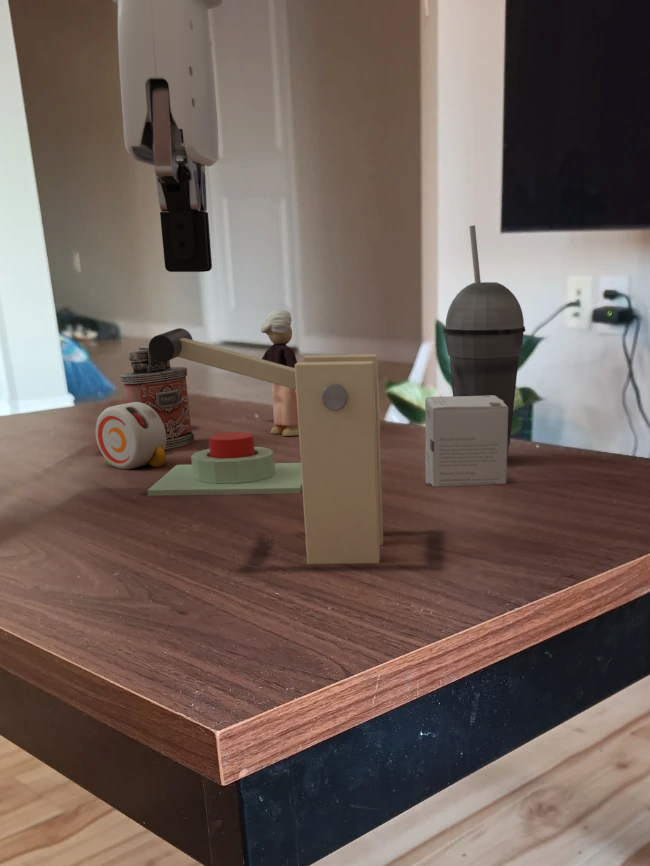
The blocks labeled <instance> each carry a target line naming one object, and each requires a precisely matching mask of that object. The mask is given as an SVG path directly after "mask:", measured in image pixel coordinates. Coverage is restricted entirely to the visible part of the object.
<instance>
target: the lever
mask: <svg viewBox="0 0 650 866" xmlns="http://www.w3.org/2000/svg"><path fill="white" fill-rule="evenodd" d="M148 345H149V353H150V355H151V356H152V358H153V359H155V360H156V361H158V362H167V361H171V360H173V359H176V358H180V359H184V360H187V361H190V362H194V363H199V364H201V365H206V366H209V367H213V368H215V369H221V370H224V371H227V372H231V373H234V374H238V375H243V376H245V377H248V378H252V379H255V380H260V381H263V382H267V383H271V384H273V383H274V384H278V385H281V386H285V387H289V388H292V389H295V390H296V379H295V368H292V367H288V366H284V365H281V364H277V363H274V362H270V361H266V360H263V359H262V358H259V357H255V356H252V355H248V354H244V353H241V352H238V351H234V350H230V349H226V348H222V347H220V346H216V345H211V344H208V343H204V342H202V341H197V340H194V339H193V336H192V334H191V333H190V332H189V331H188V330H187V329H185V328H181V327H179V328H178V327H177V328H175V329H172V330H169V331H165V332H163V333H159V334H157V335H154V336H153V337H152V338H151V339H150V340H149V343H148Z"/></svg>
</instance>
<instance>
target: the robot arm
mask: <svg viewBox="0 0 650 866" xmlns="http://www.w3.org/2000/svg"><path fill="white" fill-rule="evenodd" d="M111 1H112V2H113V3H115V4H117V49H118V51H117V52H118V65H119V67H118V68H119V69H118V70H119V83H120V100H121V101H120V102H121V114H122V130H123V131H122V132H123V142H124V148H125V150H126V152H127V154H128V155H129V156H130V157H131V158H132V159H133V160H135V161H136V162H140V163H142V164H146V165H150V166H153V167H154V172H155V180H156V188H157V196H158V197H157V198H158V203H159V209H160V211H159V217H160V229H161V240H162V250H163V261H164V262H163V263H164V268H165V270H166V271H167V272H169V273H205V272H210V271H211V270H212V269H213V263H212V262H213V261H212V249H211V247H212V246H211V233H210V220H209V212H207V210H208V208H207V207H208V203H207V202H208V201H207V183H206V182H207V181H206V167H212V166H213V165H214V164H215V163H216V162H217V161H218V159H219V125H218V111H217V110H218V109H217V108H218V107H217V97H216V96H217V95H216V94H217V93H216V83H215V82H216V81H215V72H214V71H215V70H214V61H213V51H212V50H213V49H212V46H213V42H212V40H211V38H212V37H211V31H210V30H211V29H210V21H209V10H210V9H215V8H217V7H219V6H221V5H222V4H223V0H111Z"/></svg>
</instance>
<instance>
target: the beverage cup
mask: <svg viewBox="0 0 650 866" xmlns="http://www.w3.org/2000/svg"><path fill="white" fill-rule="evenodd" d="M476 231H477V229H476V224H475V225H469V236H470V237H469V238H470V245H471V246H470V247H471V256H472V257H471V258H472V266H473V276H474V282H472V283H470V284H468V285H466V286H465V287H463V288H462V289H461V290H460V291H459V292H458V293H457V294H456V296H455V297H454V298H453V300H452V301H451V302H450V304H449V307H448V311H447V313H446V318H445V327H444V328H443V333H444V334H445V345H446V349H447V356H449V365H450V375H451V376H450V378H451V388H452V389H451V390H452V396H491V395H494V396H497V397H498V398H499V399H501V400H503V401H504V403H505V404H506V405H507V406H508V436H507V455H508V454H509V448H510V445H511V436H512V425H513V416H514V408H515V407H514V406H515V397H516V387H517V377H518V368H519V358H520V355H521V353H522V347H523V343H524V333H525V332H526V327H525V323H524V313H523V310H522V307H521V304H520V302H519V300H518V299H517V297H516V296H515V294H514V293H513V292H512V291H511V290H510V288H508V287H506V286H505V285H504V284H501V283H500V282H496V281H495V282H494V281H493V282H492V281H488V282H486V281H485V282H481V273H480V262H479V251H478V242H477V241H478V239H477V232H476Z"/></svg>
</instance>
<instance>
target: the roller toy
mask: <svg viewBox="0 0 650 866" xmlns="http://www.w3.org/2000/svg"><path fill="white" fill-rule="evenodd" d="M95 440H96V443H97V448H98V449H99V451H100V453H101V455H102V456H103V459H104V460H105V462H106V463H107V464H108V465H109V466H110V467H115V468H116V469H119V470H125V471H126V470H128V471H129V470H133V469H138V468H141V467H144V466H150V467H152V468H161V467H162V466H164V464H165V463H166V458H167V456H166V452H165V451H166V449H165V447H166V432H165V428H164V425H163V422H162V420H161V418H160V417H159V415H158V414H157V413H156V412H155V410H153V409H152V408H151V407H150V406H148V405H146V404H144V403H141V402H132V403H127V404H126V403H122V404H117V405H111V406H109V407H107V408H105V409H104V410H102V412H101V413H100V414H99V416H98V417H97V420H96V424H95Z"/></svg>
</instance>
